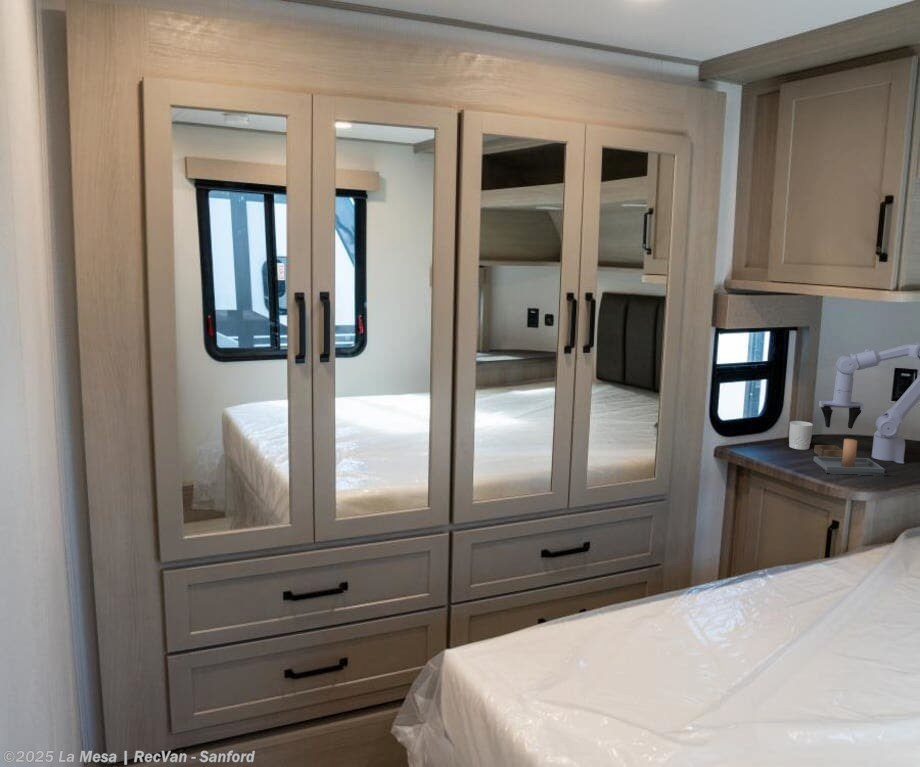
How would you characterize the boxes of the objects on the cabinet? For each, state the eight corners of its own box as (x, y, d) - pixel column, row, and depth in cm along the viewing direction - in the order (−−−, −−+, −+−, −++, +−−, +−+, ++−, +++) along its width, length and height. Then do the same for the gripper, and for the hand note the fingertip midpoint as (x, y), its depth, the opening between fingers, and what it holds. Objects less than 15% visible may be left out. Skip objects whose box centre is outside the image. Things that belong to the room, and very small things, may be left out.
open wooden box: (835, 455, 276) (836, 445, 275) (843, 460, 268) (844, 451, 267) (813, 454, 276) (814, 445, 276) (821, 460, 269) (822, 450, 268)
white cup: (812, 453, 278) (815, 426, 276) (789, 451, 280) (792, 425, 278) (807, 447, 286) (810, 421, 284) (785, 446, 287) (787, 420, 286)
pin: (850, 464, 259) (853, 438, 258) (857, 467, 255) (859, 441, 254) (839, 464, 259) (841, 438, 257) (845, 467, 255) (848, 441, 254)
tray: (867, 465, 263) (868, 458, 262) (884, 476, 250) (884, 469, 250) (813, 463, 265) (813, 456, 264) (826, 474, 252) (827, 466, 252)
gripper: (860, 388, 274) (855, 425, 276) (817, 387, 275) (813, 423, 278) (868, 392, 267) (863, 430, 269) (824, 390, 268) (820, 428, 271)
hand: (838, 427), depth 273 cm, fingers open, 7 cm apart
